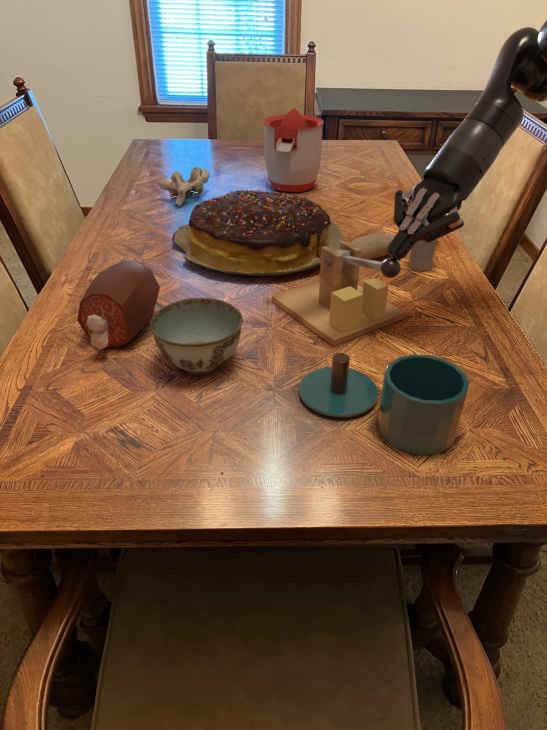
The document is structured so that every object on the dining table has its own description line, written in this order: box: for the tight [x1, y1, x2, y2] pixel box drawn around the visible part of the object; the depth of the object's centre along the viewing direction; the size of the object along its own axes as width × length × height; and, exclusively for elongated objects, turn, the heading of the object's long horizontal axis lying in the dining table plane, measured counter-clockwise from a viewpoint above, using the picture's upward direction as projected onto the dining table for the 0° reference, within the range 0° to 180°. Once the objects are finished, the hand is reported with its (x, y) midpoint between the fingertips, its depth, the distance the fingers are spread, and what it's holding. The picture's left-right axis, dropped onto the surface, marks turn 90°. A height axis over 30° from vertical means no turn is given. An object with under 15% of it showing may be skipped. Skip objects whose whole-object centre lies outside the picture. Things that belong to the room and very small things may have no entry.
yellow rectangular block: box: [362, 277, 389, 320], centre depth 97 cm, size 3×2×6 cm
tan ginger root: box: [157, 166, 211, 208], centre depth 148 cm, size 9×14×8 cm, turn 136°
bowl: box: [149, 297, 244, 376], centre depth 87 cm, size 14×13×8 cm
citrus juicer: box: [262, 108, 325, 193], centre depth 151 cm, size 16×17×20 cm
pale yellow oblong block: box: [329, 286, 364, 333], centre depth 94 cm, size 3×4×6 cm
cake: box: [171, 189, 346, 277], centre depth 123 cm, size 37×37×10 cm
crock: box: [377, 354, 470, 456], centre depth 74 cm, size 10×10×8 cm
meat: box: [76, 258, 161, 351], centre depth 94 cm, size 20×12×10 cm, turn 170°
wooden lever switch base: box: [271, 240, 406, 347], centre depth 99 cm, size 18×16×12 cm
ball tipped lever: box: [334, 249, 401, 279], centre depth 92 cm, size 15×3×3 cm, turn 34°
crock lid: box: [298, 352, 379, 418], centre depth 81 cm, size 11×11×7 cm
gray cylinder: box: [408, 227, 437, 272], centre depth 114 cm, size 4×4×10 cm
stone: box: [350, 233, 396, 260], centre depth 119 cm, size 6×6×12 cm
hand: (392, 256), depth 86 cm, fingers closed
